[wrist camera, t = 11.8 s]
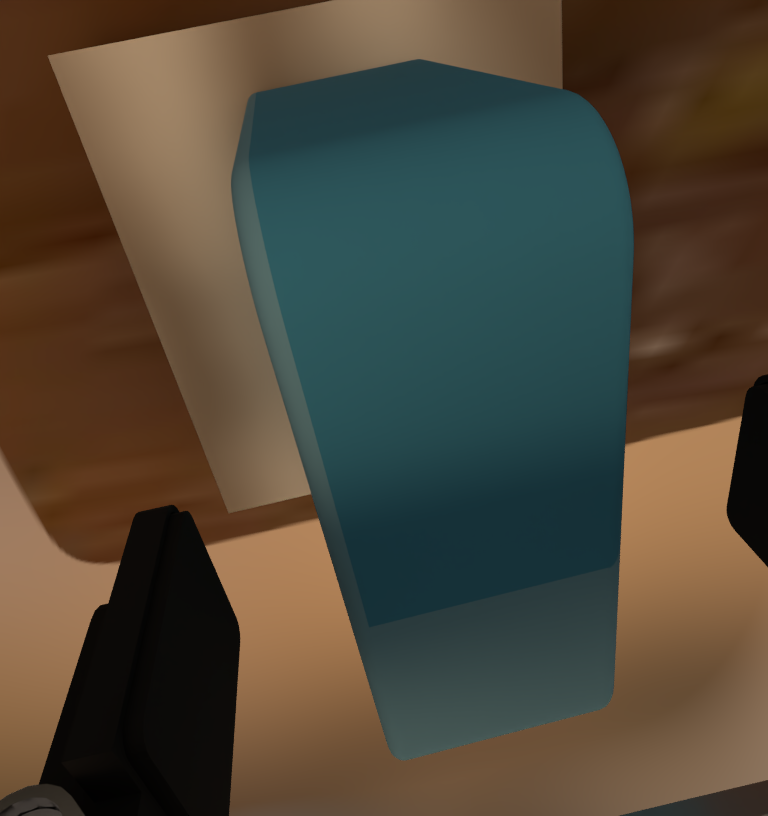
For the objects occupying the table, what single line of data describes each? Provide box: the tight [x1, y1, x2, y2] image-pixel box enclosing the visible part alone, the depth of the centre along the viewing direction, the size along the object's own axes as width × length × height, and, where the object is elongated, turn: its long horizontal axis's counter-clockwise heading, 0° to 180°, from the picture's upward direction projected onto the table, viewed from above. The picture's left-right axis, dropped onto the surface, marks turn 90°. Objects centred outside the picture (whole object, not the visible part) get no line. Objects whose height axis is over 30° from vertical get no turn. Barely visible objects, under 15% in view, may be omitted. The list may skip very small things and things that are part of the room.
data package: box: [231, 59, 634, 760], centre depth 15 cm, size 12×4×12 cm, turn 10°
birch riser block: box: [48, 0, 562, 513], centre depth 22 cm, size 13×15×5 cm
